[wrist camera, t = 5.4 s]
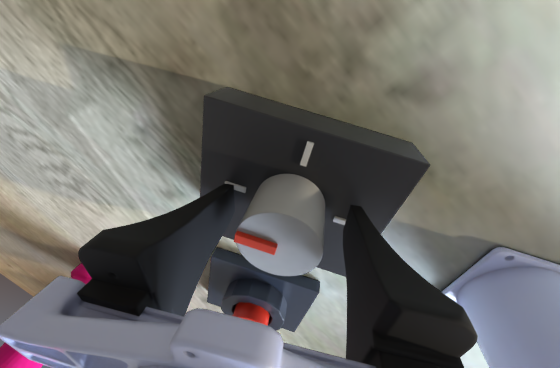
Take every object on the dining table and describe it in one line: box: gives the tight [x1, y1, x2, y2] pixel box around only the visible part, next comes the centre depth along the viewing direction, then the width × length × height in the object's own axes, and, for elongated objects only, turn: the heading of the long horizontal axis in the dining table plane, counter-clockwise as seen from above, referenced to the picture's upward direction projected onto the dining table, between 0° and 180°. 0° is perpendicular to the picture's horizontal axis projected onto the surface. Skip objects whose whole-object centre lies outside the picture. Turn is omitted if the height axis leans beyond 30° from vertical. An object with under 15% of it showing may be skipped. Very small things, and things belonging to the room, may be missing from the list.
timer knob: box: [234, 174, 325, 276], centre depth 12 cm, size 4×4×4 cm
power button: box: [232, 302, 270, 326], centre depth 22 cm, size 4×4×2 cm
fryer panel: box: [200, 87, 430, 277], centre depth 15 cm, size 12×10×3 cm
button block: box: [207, 248, 320, 332], centre depth 23 cm, size 11×9×3 cm
